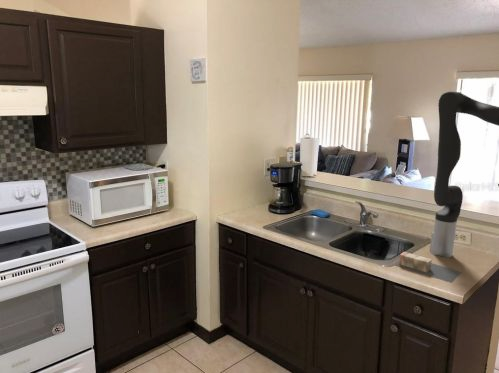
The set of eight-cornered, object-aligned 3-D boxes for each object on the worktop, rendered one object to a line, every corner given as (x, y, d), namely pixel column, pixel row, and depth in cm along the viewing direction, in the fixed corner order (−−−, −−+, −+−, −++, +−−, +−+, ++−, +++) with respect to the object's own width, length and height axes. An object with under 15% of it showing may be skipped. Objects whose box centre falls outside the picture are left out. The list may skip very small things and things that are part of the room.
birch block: (426, 272, 175) (398, 264, 183) (430, 269, 178) (403, 261, 186) (427, 262, 174) (399, 254, 182) (431, 259, 177) (404, 251, 185)
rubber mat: (393, 266, 182) (393, 265, 182) (406, 257, 192) (406, 256, 192) (451, 284, 166) (451, 282, 166) (462, 273, 176) (462, 271, 176)
